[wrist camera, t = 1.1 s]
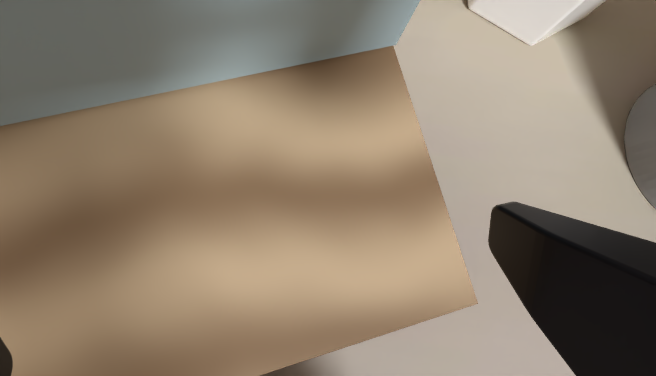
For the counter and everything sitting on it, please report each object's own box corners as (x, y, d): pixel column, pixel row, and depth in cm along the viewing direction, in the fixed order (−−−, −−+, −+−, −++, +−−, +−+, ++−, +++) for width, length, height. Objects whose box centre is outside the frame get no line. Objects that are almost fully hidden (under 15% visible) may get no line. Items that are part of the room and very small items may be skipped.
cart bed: (433, 296, 23) (477, 303, 18) (75, 411, 20) (11, 457, 15) (363, 73, 25) (386, 25, 20) (27, 145, 22) (-44, 109, 17)
